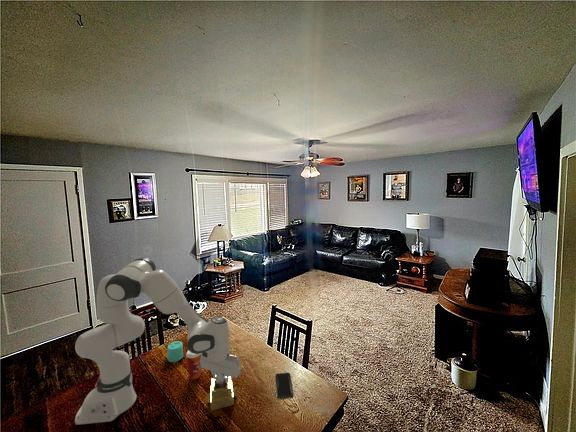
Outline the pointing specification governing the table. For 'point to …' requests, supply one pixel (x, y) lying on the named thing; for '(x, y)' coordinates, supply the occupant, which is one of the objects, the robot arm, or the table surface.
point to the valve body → (221, 395)
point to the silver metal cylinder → (220, 380)
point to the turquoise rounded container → (175, 351)
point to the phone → (283, 385)
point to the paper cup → (194, 365)
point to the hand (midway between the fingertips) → (221, 380)
